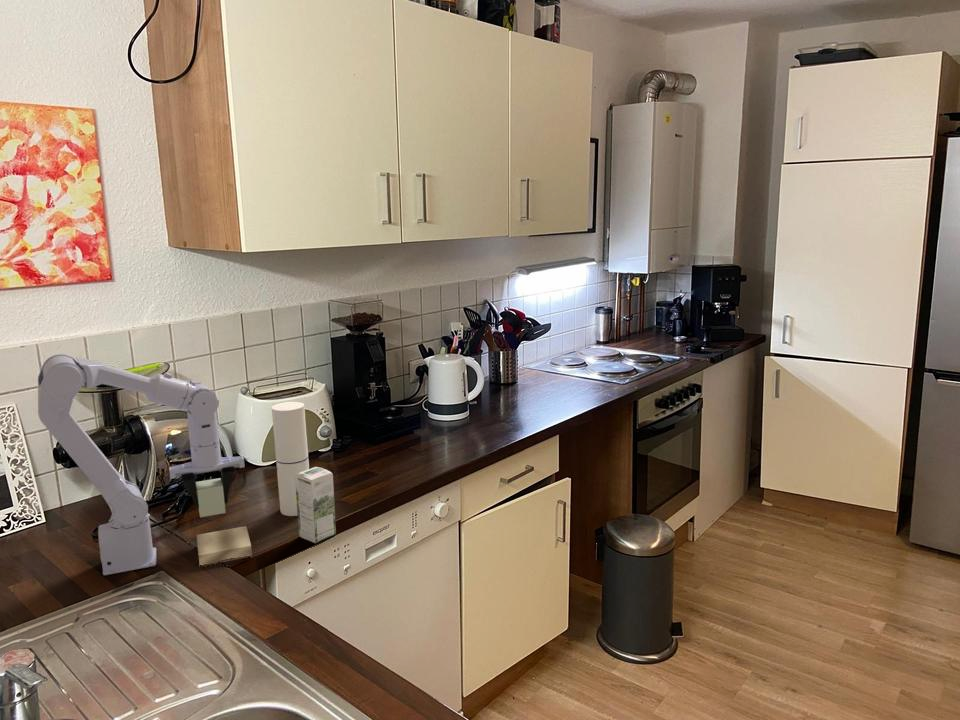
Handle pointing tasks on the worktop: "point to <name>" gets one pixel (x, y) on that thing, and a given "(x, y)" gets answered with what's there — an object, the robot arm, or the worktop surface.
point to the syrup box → (315, 504)
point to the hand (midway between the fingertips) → (211, 504)
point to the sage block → (210, 497)
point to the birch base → (223, 545)
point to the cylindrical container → (289, 451)
